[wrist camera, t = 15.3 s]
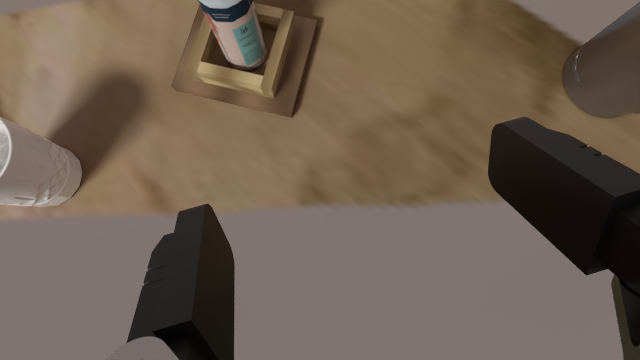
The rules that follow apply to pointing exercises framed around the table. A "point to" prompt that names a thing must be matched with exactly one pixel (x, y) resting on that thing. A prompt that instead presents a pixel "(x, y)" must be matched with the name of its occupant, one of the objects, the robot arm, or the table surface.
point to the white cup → (35, 168)
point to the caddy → (257, 84)
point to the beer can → (237, 31)
